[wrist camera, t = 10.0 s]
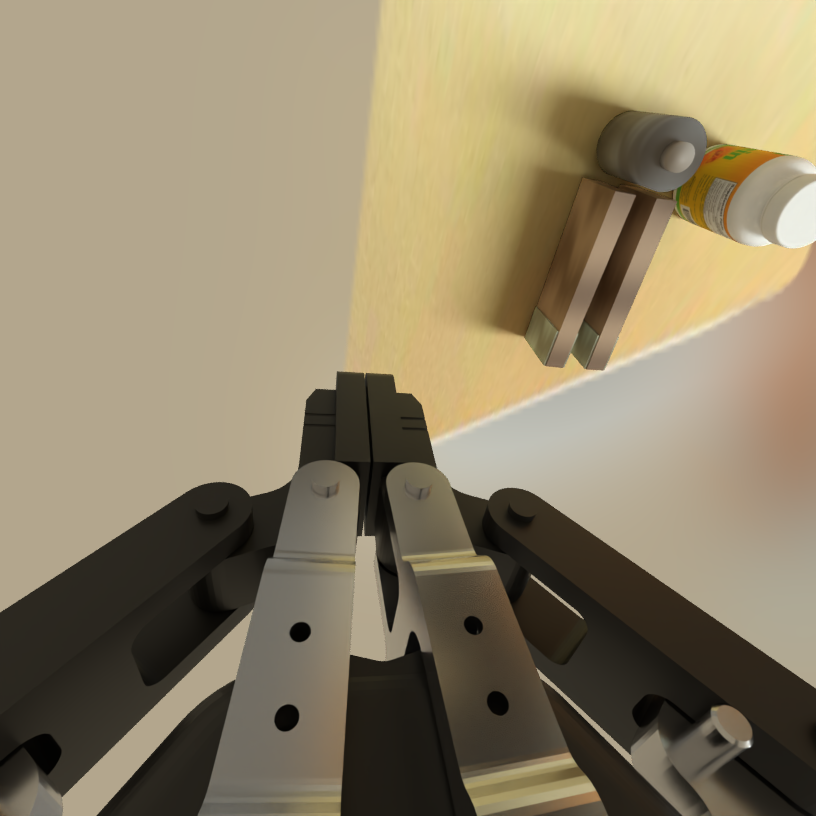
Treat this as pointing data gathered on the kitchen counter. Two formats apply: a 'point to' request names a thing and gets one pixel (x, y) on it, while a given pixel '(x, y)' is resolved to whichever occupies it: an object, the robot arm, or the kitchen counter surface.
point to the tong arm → (577, 269)
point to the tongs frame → (636, 215)
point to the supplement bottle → (752, 196)
